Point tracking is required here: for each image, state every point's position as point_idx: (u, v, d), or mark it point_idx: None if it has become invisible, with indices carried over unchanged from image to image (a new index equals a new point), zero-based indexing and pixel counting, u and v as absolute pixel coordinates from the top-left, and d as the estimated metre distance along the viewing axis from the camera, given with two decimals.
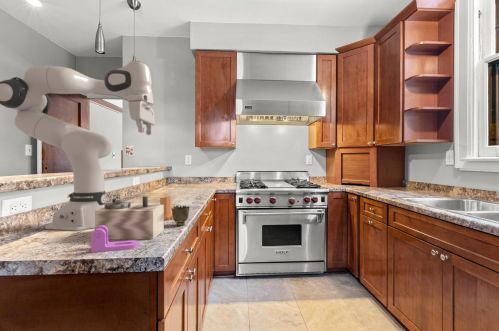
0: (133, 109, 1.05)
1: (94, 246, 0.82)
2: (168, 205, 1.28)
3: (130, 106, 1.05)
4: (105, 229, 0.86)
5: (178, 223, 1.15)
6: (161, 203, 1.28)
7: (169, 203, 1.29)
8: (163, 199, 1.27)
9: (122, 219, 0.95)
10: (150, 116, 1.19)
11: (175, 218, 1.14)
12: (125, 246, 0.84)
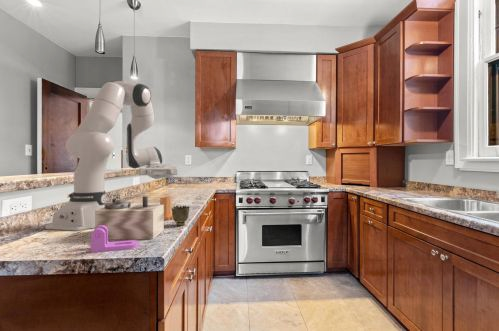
0: None
1: (94, 246, 0.82)
2: (168, 205, 1.28)
3: None
4: (105, 229, 0.86)
5: (178, 223, 1.15)
6: (161, 203, 1.28)
7: (169, 203, 1.29)
8: (163, 199, 1.27)
9: (122, 219, 0.95)
10: None
11: (175, 218, 1.14)
12: (125, 246, 0.84)
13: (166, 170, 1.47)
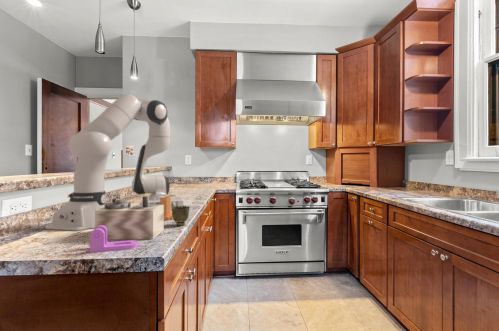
0: None
1: (93, 246, 0.82)
2: (168, 205, 1.28)
3: None
4: (104, 229, 0.86)
5: (178, 223, 1.15)
6: (161, 203, 1.28)
7: (169, 203, 1.29)
8: (163, 199, 1.27)
9: (122, 219, 0.95)
10: None
11: (175, 218, 1.14)
12: (124, 246, 0.84)
13: None
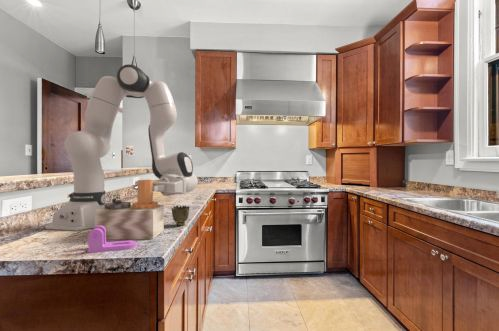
0: (179, 186, 1.04)
1: (92, 246, 0.81)
2: (141, 190, 0.99)
3: (181, 183, 1.06)
4: (103, 229, 0.86)
5: (178, 223, 1.15)
6: None
7: (143, 187, 0.99)
8: (138, 181, 1.01)
9: (122, 219, 0.95)
10: None
11: (175, 218, 1.14)
12: (123, 246, 0.84)
13: None
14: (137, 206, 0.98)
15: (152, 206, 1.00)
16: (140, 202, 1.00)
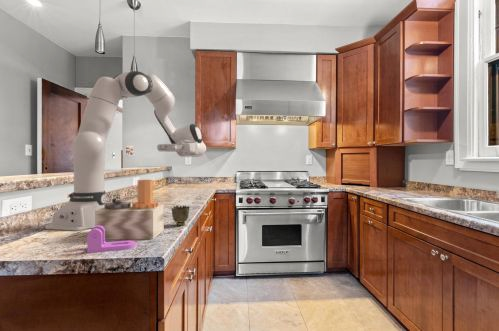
0: (193, 146, 1.34)
1: (90, 246, 0.81)
2: (141, 190, 0.99)
3: (194, 144, 1.35)
4: (102, 229, 0.86)
5: (178, 223, 1.15)
6: None
7: (143, 187, 0.99)
8: (138, 181, 1.01)
9: (122, 219, 0.95)
10: None
11: (175, 218, 1.14)
12: (122, 246, 0.84)
13: None
14: (137, 206, 0.98)
15: (152, 206, 1.00)
16: (140, 202, 1.00)
